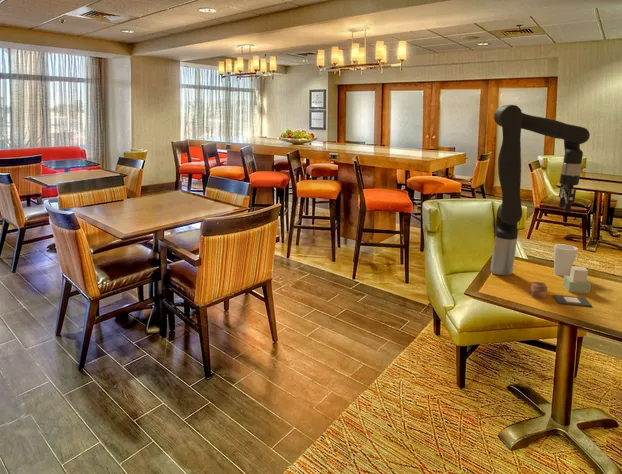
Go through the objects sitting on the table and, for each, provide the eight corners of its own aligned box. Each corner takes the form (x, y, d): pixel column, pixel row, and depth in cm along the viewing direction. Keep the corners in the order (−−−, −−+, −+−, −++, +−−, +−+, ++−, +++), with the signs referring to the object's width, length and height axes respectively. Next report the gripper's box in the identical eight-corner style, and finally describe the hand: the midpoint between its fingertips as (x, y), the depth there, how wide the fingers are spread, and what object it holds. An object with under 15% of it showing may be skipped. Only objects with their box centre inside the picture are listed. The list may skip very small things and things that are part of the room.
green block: (568, 292, 194) (570, 282, 193) (562, 285, 202) (564, 275, 200) (589, 293, 193) (591, 283, 191) (582, 286, 200) (584, 277, 199)
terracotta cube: (532, 297, 188) (533, 286, 187) (529, 292, 193) (531, 281, 191) (545, 298, 187) (547, 287, 185) (542, 293, 192) (544, 282, 190)
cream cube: (572, 281, 194) (575, 269, 193) (569, 276, 199) (571, 265, 197) (586, 282, 193) (588, 271, 192) (582, 278, 198) (584, 267, 196)
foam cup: (577, 277, 210) (581, 250, 206) (556, 277, 210) (560, 250, 206) (566, 270, 219) (570, 244, 215) (546, 270, 219) (550, 243, 215)
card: (558, 303, 182) (558, 302, 182) (552, 295, 189) (552, 294, 189) (591, 306, 179) (592, 305, 179) (584, 298, 187) (585, 297, 187)
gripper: (556, 171, 210) (551, 205, 215) (565, 175, 197) (559, 212, 202) (574, 171, 209) (568, 206, 213) (585, 176, 195) (578, 213, 200)
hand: (564, 209), depth 207 cm, fingers open, 8 cm apart
